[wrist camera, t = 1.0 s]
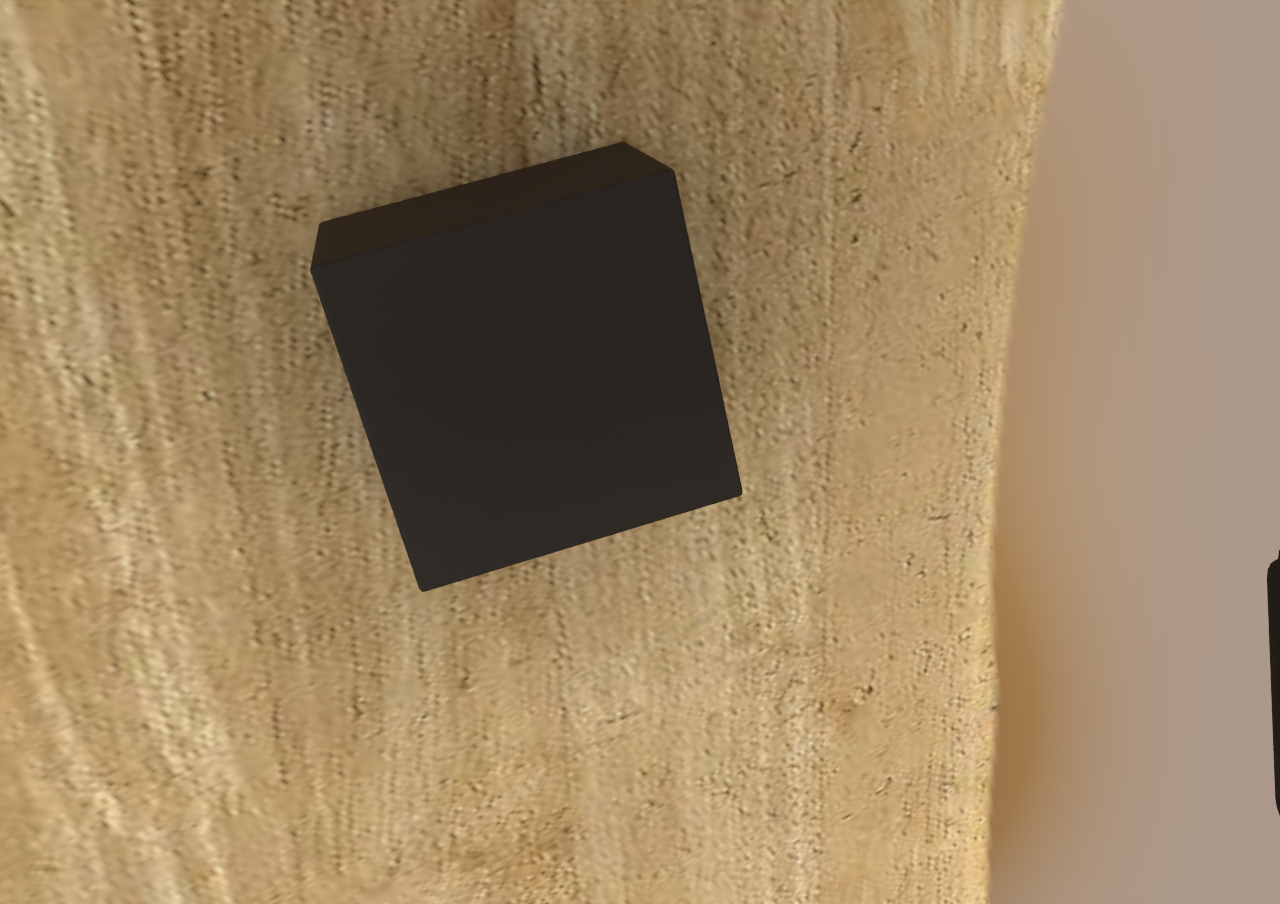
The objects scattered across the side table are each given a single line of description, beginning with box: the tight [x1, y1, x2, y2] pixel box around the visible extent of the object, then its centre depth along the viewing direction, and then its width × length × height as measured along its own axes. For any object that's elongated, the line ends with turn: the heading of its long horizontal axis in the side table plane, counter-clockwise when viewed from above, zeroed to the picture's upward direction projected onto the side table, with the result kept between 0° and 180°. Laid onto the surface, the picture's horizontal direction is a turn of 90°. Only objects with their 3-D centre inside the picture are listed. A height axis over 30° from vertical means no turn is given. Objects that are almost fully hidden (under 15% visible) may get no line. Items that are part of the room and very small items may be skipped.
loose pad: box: [311, 142, 742, 592], centre depth 22 cm, size 6×6×4 cm
